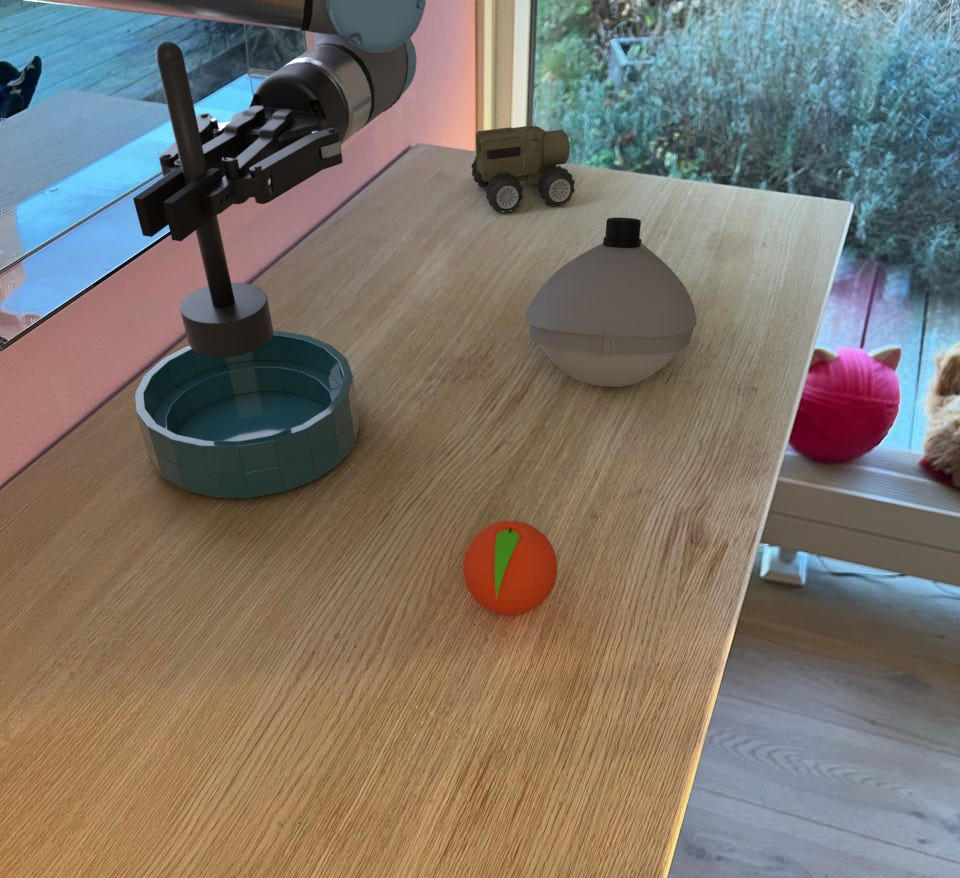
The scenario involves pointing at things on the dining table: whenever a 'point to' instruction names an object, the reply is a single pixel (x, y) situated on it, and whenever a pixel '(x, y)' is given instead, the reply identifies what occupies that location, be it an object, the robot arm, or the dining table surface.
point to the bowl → (249, 417)
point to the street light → (613, 311)
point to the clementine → (510, 567)
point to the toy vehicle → (522, 165)
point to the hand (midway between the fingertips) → (157, 219)
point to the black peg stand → (210, 241)
